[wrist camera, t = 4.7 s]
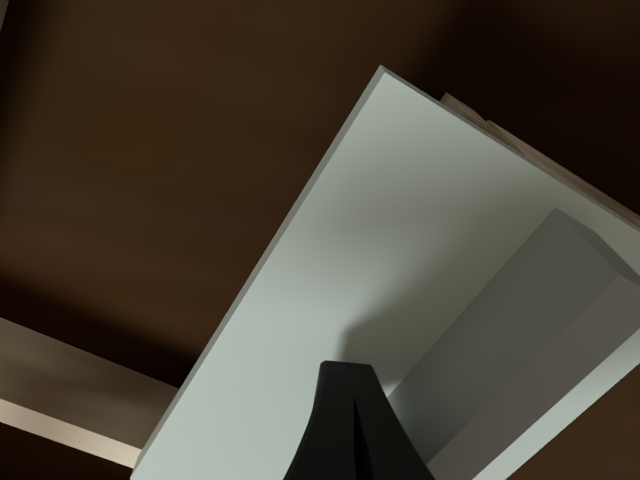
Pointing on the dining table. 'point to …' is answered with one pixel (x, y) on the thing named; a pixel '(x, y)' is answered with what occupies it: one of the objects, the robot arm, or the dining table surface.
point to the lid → (416, 303)
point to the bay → (128, 385)
